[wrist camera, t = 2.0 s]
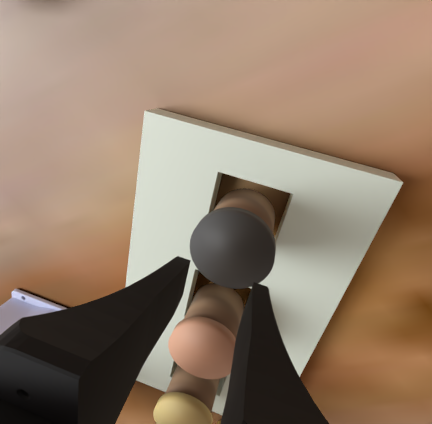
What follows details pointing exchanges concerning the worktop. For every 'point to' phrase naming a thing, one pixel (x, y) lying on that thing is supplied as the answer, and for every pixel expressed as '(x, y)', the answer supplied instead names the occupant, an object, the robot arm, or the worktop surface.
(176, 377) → the plug brass
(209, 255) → the plug black
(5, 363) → the robot arm
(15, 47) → the worktop surface
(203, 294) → the plug terracotta
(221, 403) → the socket board
